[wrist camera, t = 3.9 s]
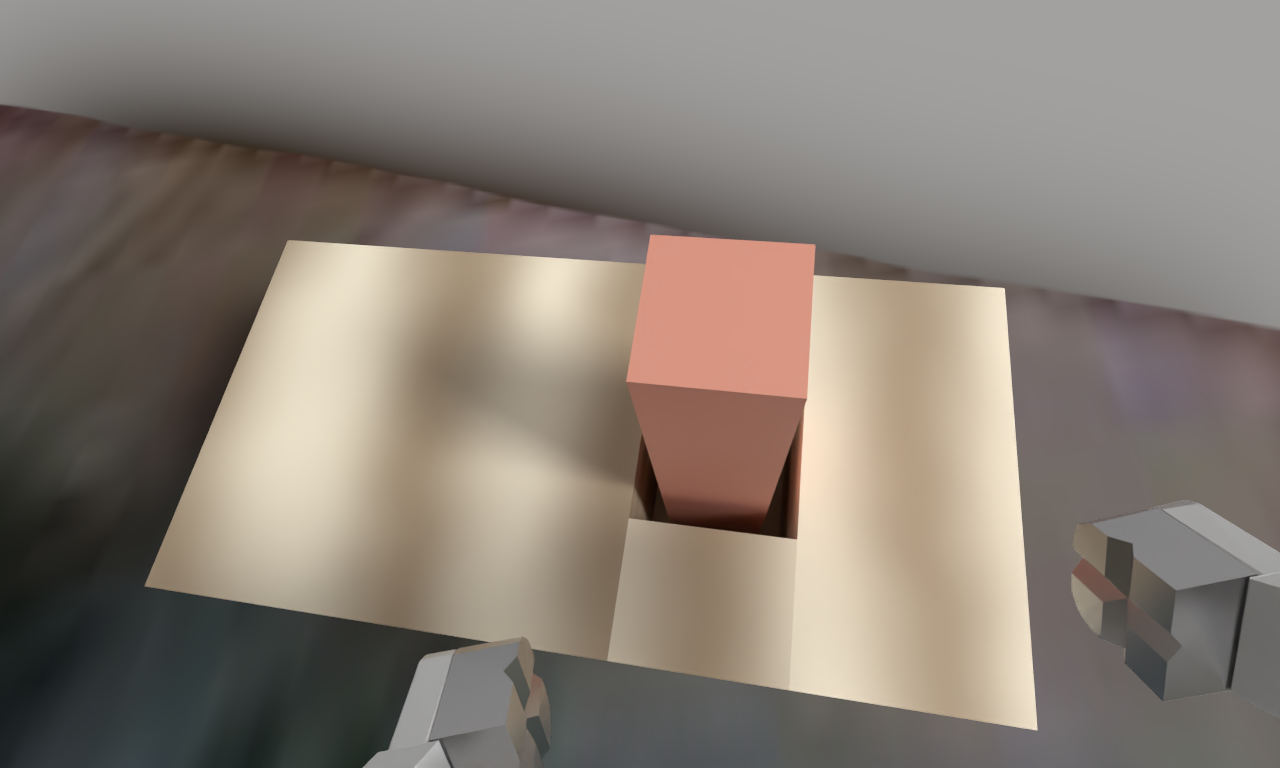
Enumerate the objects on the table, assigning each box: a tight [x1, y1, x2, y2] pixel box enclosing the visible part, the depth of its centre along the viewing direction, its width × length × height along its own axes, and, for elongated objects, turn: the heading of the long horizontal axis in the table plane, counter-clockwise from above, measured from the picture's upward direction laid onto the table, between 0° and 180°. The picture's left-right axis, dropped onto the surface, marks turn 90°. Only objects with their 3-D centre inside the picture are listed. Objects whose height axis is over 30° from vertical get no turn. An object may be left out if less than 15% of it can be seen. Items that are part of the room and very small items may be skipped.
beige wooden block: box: [145, 240, 1037, 730], centre depth 24 cm, size 24×12×9 cm, turn 82°
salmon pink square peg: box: [626, 235, 815, 535], centre depth 18 cm, size 3×3×14 cm
